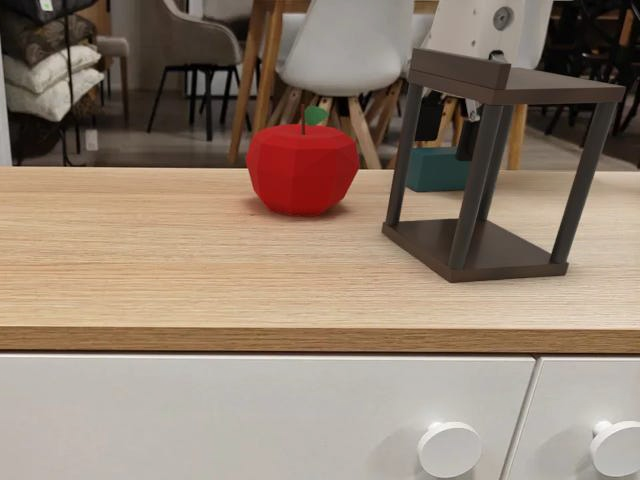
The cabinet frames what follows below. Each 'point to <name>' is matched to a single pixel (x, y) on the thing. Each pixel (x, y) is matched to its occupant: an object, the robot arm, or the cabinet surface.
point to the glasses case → (437, 170)
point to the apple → (302, 165)
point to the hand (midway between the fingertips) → (445, 150)
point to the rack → (492, 167)
